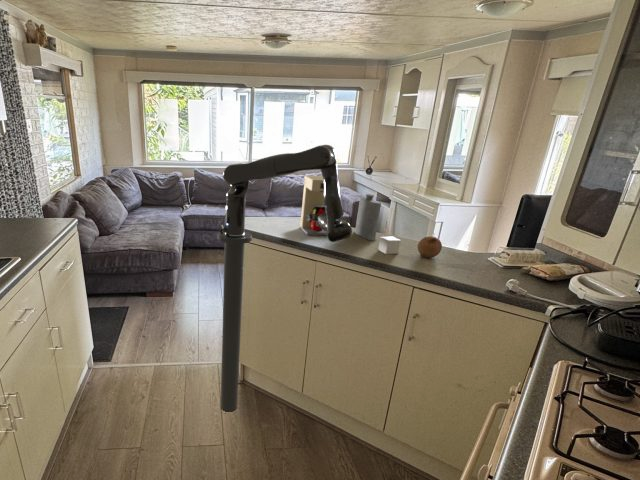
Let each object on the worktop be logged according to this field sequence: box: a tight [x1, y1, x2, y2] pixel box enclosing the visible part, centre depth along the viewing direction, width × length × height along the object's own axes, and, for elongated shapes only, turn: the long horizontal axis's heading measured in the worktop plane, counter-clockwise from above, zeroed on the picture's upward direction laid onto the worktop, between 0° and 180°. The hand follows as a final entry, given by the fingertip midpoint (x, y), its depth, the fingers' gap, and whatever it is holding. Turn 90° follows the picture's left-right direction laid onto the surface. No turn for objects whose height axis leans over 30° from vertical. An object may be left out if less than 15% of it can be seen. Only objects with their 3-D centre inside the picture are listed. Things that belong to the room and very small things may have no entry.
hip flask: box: [354, 193, 382, 242], centre depth 206 cm, size 16×4×20 cm, turn 15°
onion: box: [417, 235, 443, 259], centre depth 181 cm, size 10×9×10 cm
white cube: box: [377, 235, 401, 255], centre depth 186 cm, size 6×6×6 cm
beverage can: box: [311, 205, 326, 231], centre depth 210 cm, size 6×6×12 cm
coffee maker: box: [299, 175, 341, 236], centre depth 209 cm, size 14×13×26 cm
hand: (317, 214), depth 211 cm, fingers open, 8 cm apart
